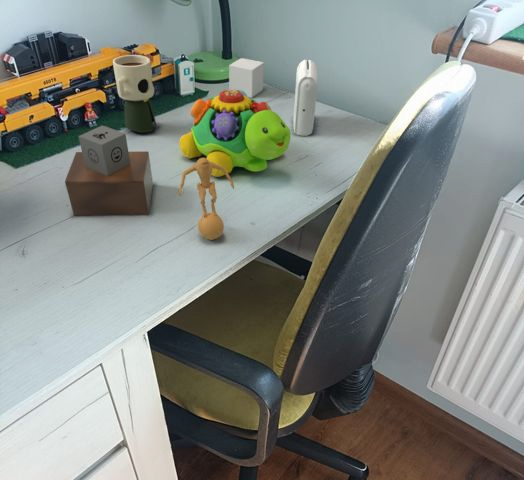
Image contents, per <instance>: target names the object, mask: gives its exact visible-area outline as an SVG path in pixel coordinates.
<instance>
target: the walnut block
mask: <svg viewBox="0 0 524 480" xmlns="http://www.w3.org/2000/svg"><path fill="white" fill-rule="evenodd" d="M128 152H129V158H130V165H128V166H126V167H124V168H122V169H121V170H119V171H117V172H115V173H113V174H111V175H109V176H106V175H104V174H101V173H99V172H96V171H94V170H91V169H89V168H86V167H85V162H84V158H83V154H82V151H76V152H75V153H74V156H73V159H72V161H71V164H70V167H69V170H68V172H67V175H66V177H65V179H64V184H65V188H66V192H67V195H68V198H69V202H70V206H71V209H72V213H73V216H74V217H75V216H76V217H78V216H79V217H81V216H82V217H83V216H125V215H126V216H134V215H135V216H136V215H140V216H141V215H149V214H150V209H151V208H150V207H151V201H152V195H153V187H154V181H153V174H152V168H151V159H150V152H149V150H148V151H147V150H146V151H128Z"/></svg>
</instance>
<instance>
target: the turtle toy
mask: <svg viewBox="0 0 524 480" xmlns="http://www.w3.org/2000/svg"><path fill="white" fill-rule="evenodd" d="M189 113H190V115H191V116H192V117H193V119H194V121H193V125H192V127H191V128H190V130H191V131H189V132H188V133H186V134H184V135H181V137H180V139H179V143H178V146H179V151H180V152H181V154H182V155H183V156H184V157H185V158H187V159H195V158H200V157H201V156H203V155H204V156H205V157H206V159H207V160H208V161H210V162H213V163H215V164H217V165H220V166H223V167H224V168H225V169H226V171H227V173H228V174H230V173H232V171H233V168H234V167H235V168H236V167H239V168H243V169H245V170H247V171H249V172H255V173H256V172H262V171H263V170H266V169H267V168H268V163H267V161H270V160H274V159H276V158H279V157H281V156H283V155H284V154H285V153H286V151H287V150H288V148H289V146H290V142H291V129H290V128H289V126H288V124H287V123H286V122H285V121H284V120H283V119H282V117H280V115H279V114H278V113H277V112H275V111H273V110H272V108H271V106H270V105H269V104H268V102H266V101H261V102H257V101H256V100H255V99H253V98H251V97H247V95H246V93H245V92H244V91H242V90H231V91H229V89H228V90H227V89H226V90H222V91H221V92H219V93H218V95H216V96H213V97H211V98H210V99H207V100H206V101H205V100H204V99H201V98H199V99H197V100H196V101H195V102H194V104H193V106H191V109H190V111H189ZM211 176H212V177H214V178H220V177H223V176H226V175H225V174H224V172H223V170H218V169H215V168H213V169H212V174H211Z"/></svg>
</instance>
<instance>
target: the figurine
mask: <svg viewBox="0 0 524 480" xmlns="http://www.w3.org/2000/svg"><path fill="white" fill-rule="evenodd" d="M213 168H215V169H218V170H223V172H224V174H225V175H224V176H225V177H226V179H227V180H228V181H229V183H230V187H231V188H232V190H234V189H235V185H234V181H233V180H232V178H231V176H230V175H229V174H230V173H229V174H228V173H227V171H226V169H225V168H224V167H223V166H220V165H217V164H215V163H213V162H210V161H208V160H207V157H199V158H198V160H197V161H196V163H194V164H192V165H191V166H190V167H189V168H187V169H185V170H184V171H183V172H182V175H181V180H180V184H179V187H178V188H179V189H178V195H179V196H180V197H182V196H183V193H184V190H183V188H184V185H185V181H186V176H187V175H190V174H191V173H193V172H195V171H196V173H197V175H198V177H199V179H200V182H198V183H197V184H196V187H197V190H198V197H199V199H200V204H201V208H202V212H203V213H202V214H203V215H202V216H200V218H199V220H198V223H197V230H198V233H199V234H200V236H202V237H203V238H204V239H206V240H210V241H212V240H217V239H218V238H220V237H221V236H222V234H223V232H224V230H225V222H224V220H223V218H222V217H221V216H220V215H218V213H217V212H216V207H215V203H216V202H217V199H218V195H217V190H216V182H215V181H214V180H212V181H211V177H212V175H211V174H212V169H213ZM206 190H208V194H209V195H210V196H211V197H212V198H211V199H210V203H211V205H210V206H211V212H207V208H206V207H207V206H206V201H205V199H206V196H207V191H206Z"/></svg>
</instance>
